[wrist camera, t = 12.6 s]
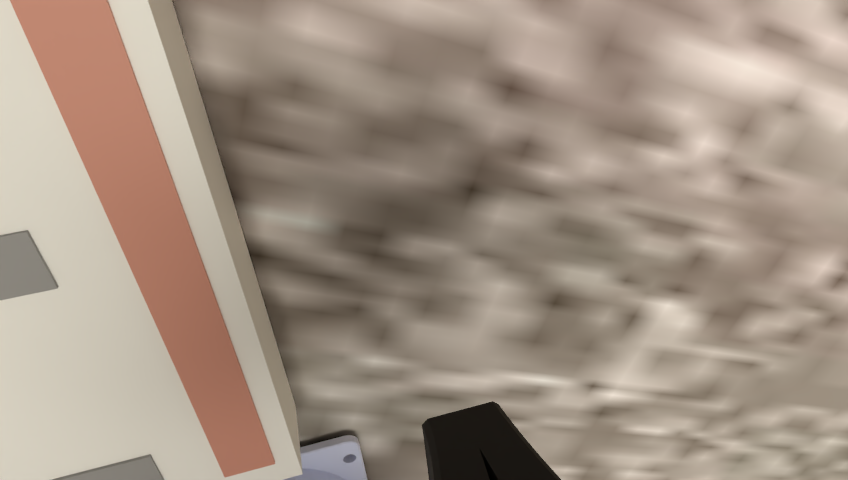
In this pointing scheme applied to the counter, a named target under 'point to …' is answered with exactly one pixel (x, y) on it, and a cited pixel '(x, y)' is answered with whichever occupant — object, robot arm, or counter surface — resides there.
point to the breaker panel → (125, 262)
